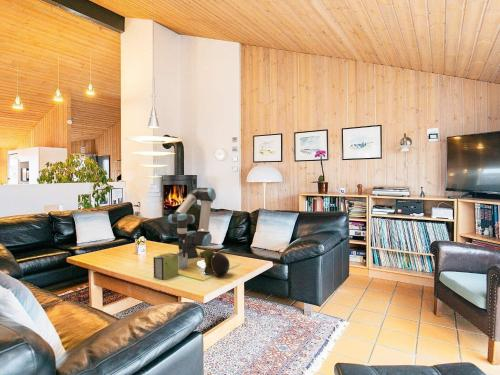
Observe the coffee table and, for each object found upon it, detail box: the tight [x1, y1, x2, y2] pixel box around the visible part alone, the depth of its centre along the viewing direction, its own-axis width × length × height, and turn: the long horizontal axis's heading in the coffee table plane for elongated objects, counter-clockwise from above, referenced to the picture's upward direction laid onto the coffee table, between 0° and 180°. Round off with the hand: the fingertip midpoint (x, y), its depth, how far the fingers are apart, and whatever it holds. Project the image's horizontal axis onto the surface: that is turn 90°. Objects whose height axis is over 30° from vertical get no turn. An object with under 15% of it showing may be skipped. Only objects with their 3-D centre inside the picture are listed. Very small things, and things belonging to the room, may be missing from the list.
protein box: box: [153, 252, 179, 281], centre depth 231 cm, size 10×15×16 cm
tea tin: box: [176, 252, 189, 271], centre depth 250 cm, size 7×7×12 cm
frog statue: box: [199, 249, 231, 278], centre depth 234 cm, size 19×16×25 cm
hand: (182, 259), depth 250 cm, fingers open, 13 cm apart
